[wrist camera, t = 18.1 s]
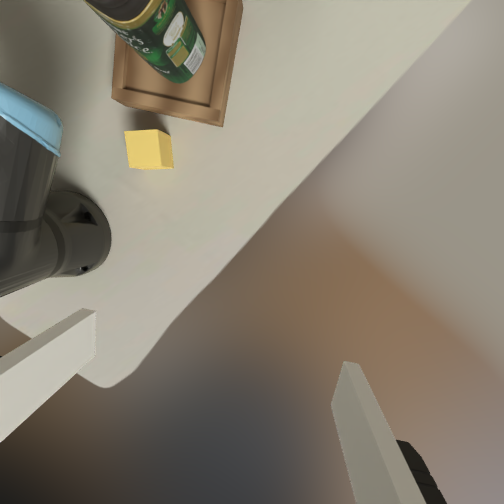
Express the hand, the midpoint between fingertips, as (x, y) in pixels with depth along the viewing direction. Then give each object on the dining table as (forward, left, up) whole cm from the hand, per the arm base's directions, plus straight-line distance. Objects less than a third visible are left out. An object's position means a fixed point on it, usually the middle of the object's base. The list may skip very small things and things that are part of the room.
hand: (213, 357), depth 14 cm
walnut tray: (-17, +25, -33) cm, 44 cm away
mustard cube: (-19, +11, -33) cm, 39 cm away
